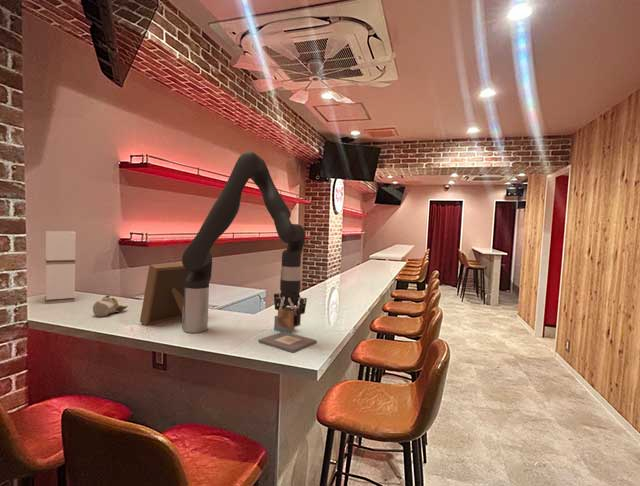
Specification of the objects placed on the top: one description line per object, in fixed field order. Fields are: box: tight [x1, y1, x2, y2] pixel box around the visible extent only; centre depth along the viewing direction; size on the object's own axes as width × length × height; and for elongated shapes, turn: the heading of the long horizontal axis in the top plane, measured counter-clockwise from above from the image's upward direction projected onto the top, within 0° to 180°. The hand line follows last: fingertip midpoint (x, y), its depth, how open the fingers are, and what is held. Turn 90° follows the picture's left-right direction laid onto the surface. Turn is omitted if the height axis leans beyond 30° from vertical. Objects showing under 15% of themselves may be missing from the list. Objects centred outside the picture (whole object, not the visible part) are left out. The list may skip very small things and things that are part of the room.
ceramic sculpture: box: [92, 295, 129, 318], centre depth 155 cm, size 11×9×15 cm
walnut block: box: [277, 306, 302, 329], centre depth 127 cm, size 6×6×6 cm
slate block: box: [273, 314, 296, 333], centre depth 143 cm, size 6×6×6 cm
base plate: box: [258, 331, 318, 354], centre depth 127 cm, size 16×14×1 cm
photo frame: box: [139, 262, 189, 327], centre depth 147 cm, size 15×22×25 cm
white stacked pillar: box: [44, 230, 77, 305], centre depth 174 cm, size 11×11×35 cm
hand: (289, 323), depth 127 cm, fingers closed on walnut block, 6 cm apart
